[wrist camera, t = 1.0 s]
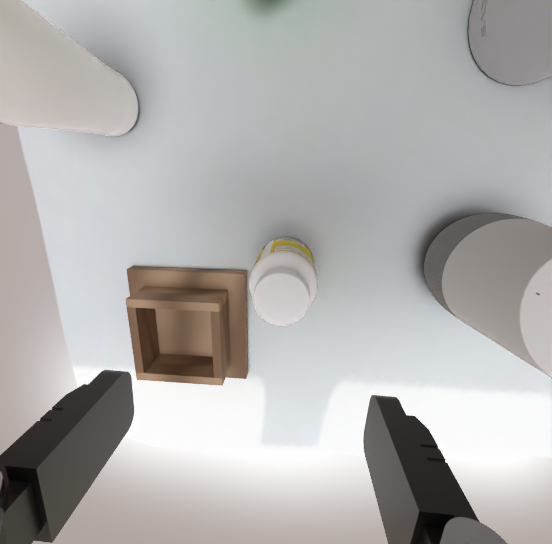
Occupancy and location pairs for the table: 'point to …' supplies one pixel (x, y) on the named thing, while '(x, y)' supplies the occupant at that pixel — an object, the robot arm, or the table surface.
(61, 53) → the drinking glass
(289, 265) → the supplement bottle
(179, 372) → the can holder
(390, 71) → the table surface
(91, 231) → the table surface
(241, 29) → the table surface
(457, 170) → the table surface
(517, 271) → the smart speaker
